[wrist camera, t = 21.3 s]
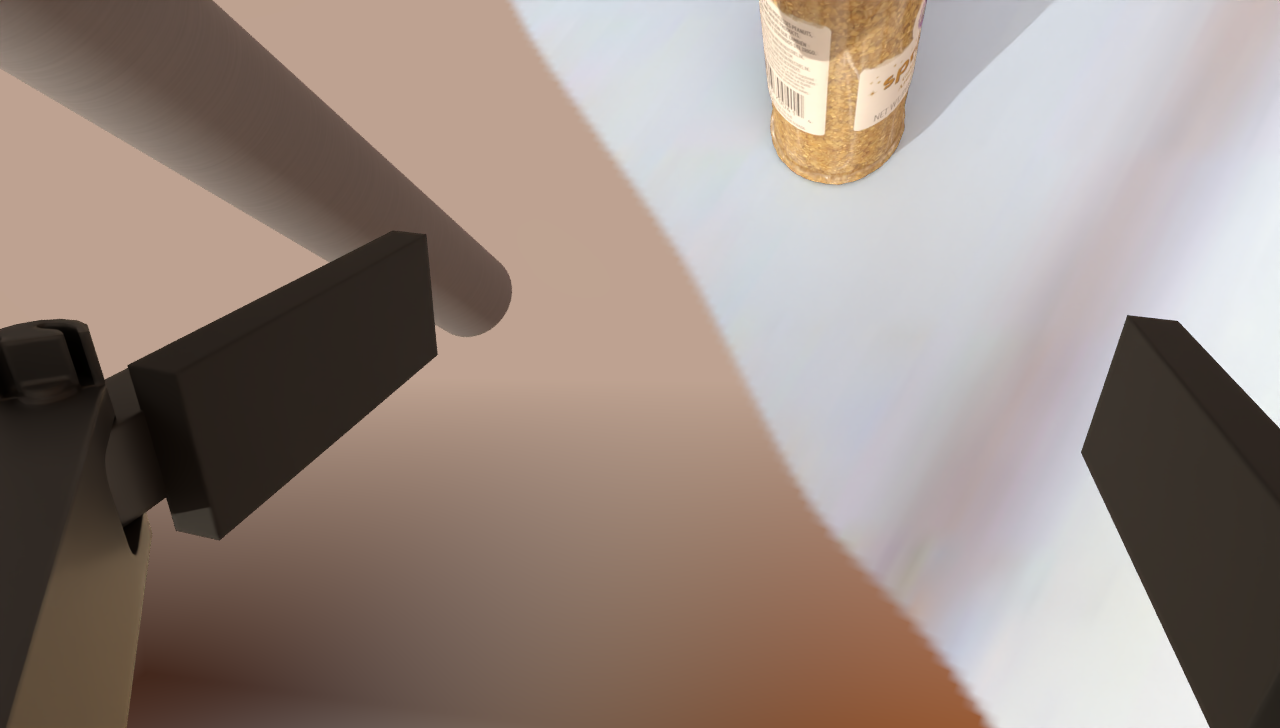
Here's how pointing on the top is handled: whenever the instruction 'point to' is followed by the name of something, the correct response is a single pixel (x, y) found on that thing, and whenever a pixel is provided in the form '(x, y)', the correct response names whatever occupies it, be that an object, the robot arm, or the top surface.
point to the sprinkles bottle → (839, 82)
